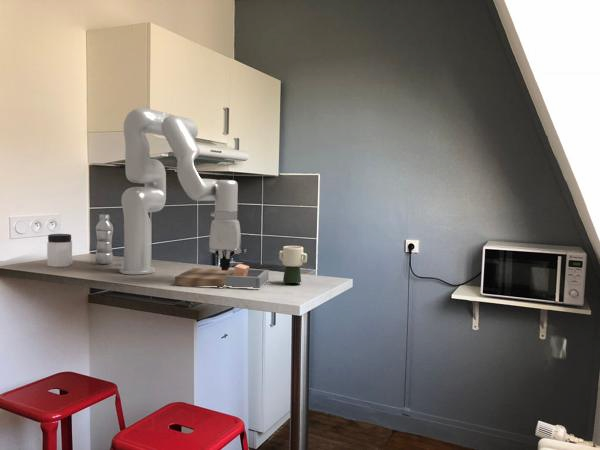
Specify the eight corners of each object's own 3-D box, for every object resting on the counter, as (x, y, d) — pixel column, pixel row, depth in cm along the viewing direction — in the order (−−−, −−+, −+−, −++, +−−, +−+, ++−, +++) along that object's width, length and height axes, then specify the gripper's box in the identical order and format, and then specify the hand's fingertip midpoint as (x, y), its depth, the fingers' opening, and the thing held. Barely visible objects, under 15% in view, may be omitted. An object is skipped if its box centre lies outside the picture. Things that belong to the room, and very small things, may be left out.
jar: (52, 263, 199) (52, 233, 198) (73, 263, 201) (73, 233, 200) (44, 267, 190) (44, 235, 190) (67, 267, 192) (67, 236, 191)
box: (225, 288, 164) (226, 276, 163) (237, 279, 179) (237, 268, 179) (259, 290, 162) (259, 277, 162) (268, 281, 178) (268, 269, 178)
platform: (174, 285, 164) (175, 276, 164) (192, 276, 182) (192, 268, 182) (222, 288, 163) (222, 279, 162) (235, 278, 181) (236, 270, 180)
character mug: (310, 284, 175) (311, 247, 174) (301, 287, 168) (302, 249, 168) (283, 280, 180) (284, 244, 179) (273, 283, 174) (274, 246, 173)
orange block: (235, 266, 167) (244, 269, 167) (239, 263, 173) (249, 266, 173) (230, 283, 168) (240, 286, 168) (235, 280, 174) (245, 282, 174)
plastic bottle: (97, 262, 205) (97, 213, 203) (114, 262, 206) (115, 214, 204) (93, 265, 198) (93, 214, 197) (110, 265, 199) (111, 215, 198)
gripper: (201, 216, 167) (200, 270, 169) (245, 217, 165) (243, 272, 167) (208, 215, 175) (207, 267, 176) (250, 216, 173) (248, 269, 174)
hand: (225, 269), depth 171 cm, fingers closed
